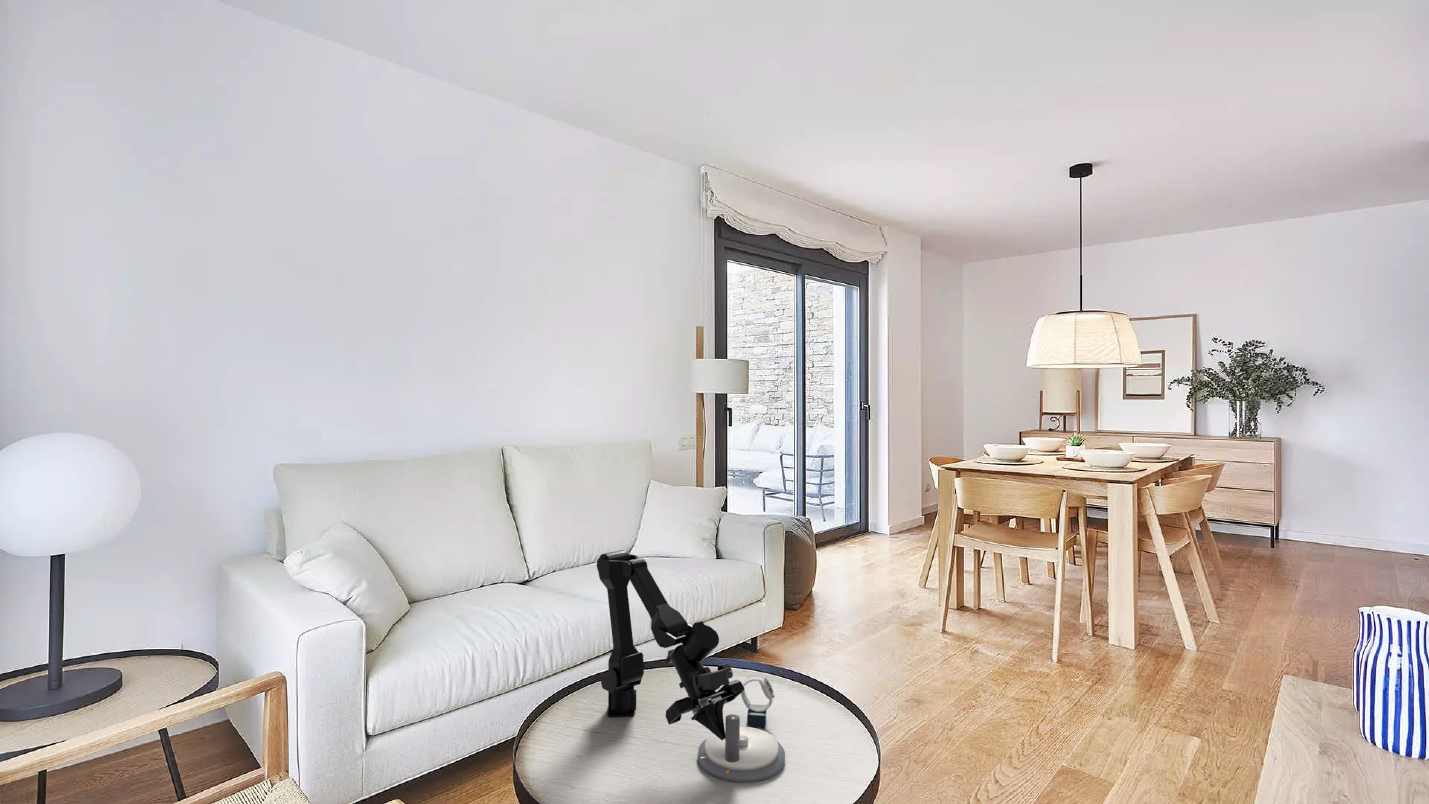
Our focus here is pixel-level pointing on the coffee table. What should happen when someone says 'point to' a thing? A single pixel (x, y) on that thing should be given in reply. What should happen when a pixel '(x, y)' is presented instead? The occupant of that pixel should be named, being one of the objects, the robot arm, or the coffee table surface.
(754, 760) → the dial
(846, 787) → the coffee table surface
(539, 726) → the coffee table surface
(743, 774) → the dial base
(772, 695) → the watch
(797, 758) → the coffee table surface
